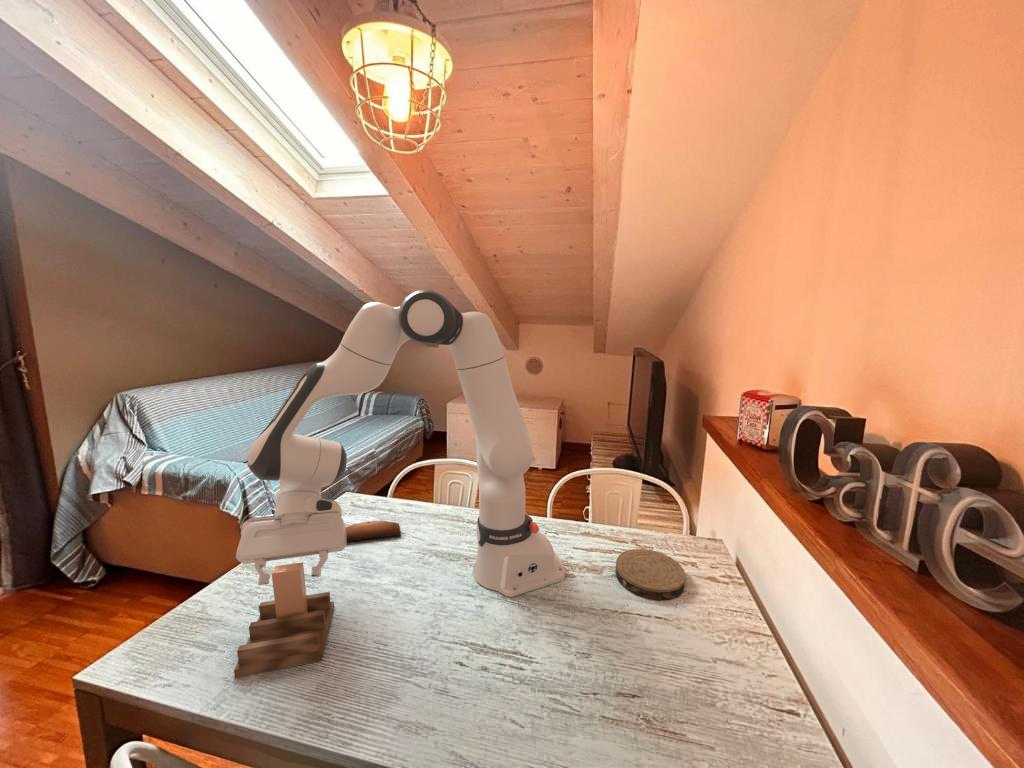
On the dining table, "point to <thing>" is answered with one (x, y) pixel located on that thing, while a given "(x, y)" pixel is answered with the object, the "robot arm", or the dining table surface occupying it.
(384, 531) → the sunglasses case
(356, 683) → the dining table surface
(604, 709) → the dining table surface
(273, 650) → the rack
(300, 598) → the clay slab
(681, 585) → the wood slice
